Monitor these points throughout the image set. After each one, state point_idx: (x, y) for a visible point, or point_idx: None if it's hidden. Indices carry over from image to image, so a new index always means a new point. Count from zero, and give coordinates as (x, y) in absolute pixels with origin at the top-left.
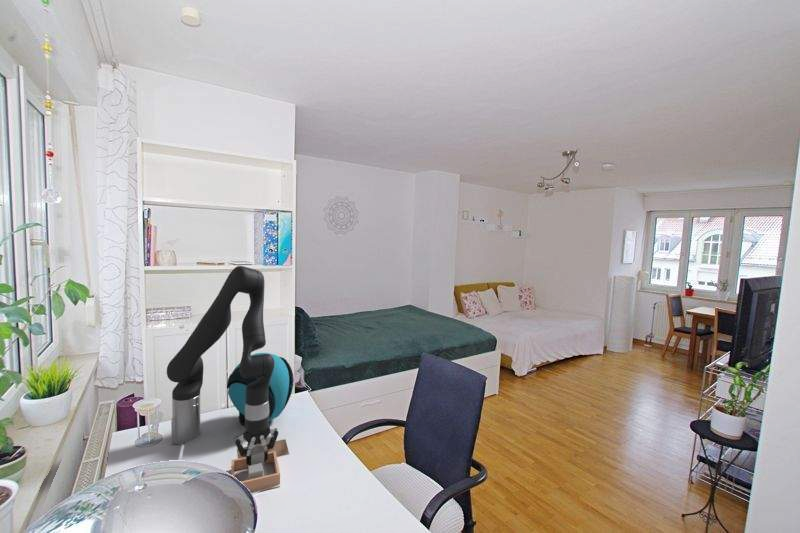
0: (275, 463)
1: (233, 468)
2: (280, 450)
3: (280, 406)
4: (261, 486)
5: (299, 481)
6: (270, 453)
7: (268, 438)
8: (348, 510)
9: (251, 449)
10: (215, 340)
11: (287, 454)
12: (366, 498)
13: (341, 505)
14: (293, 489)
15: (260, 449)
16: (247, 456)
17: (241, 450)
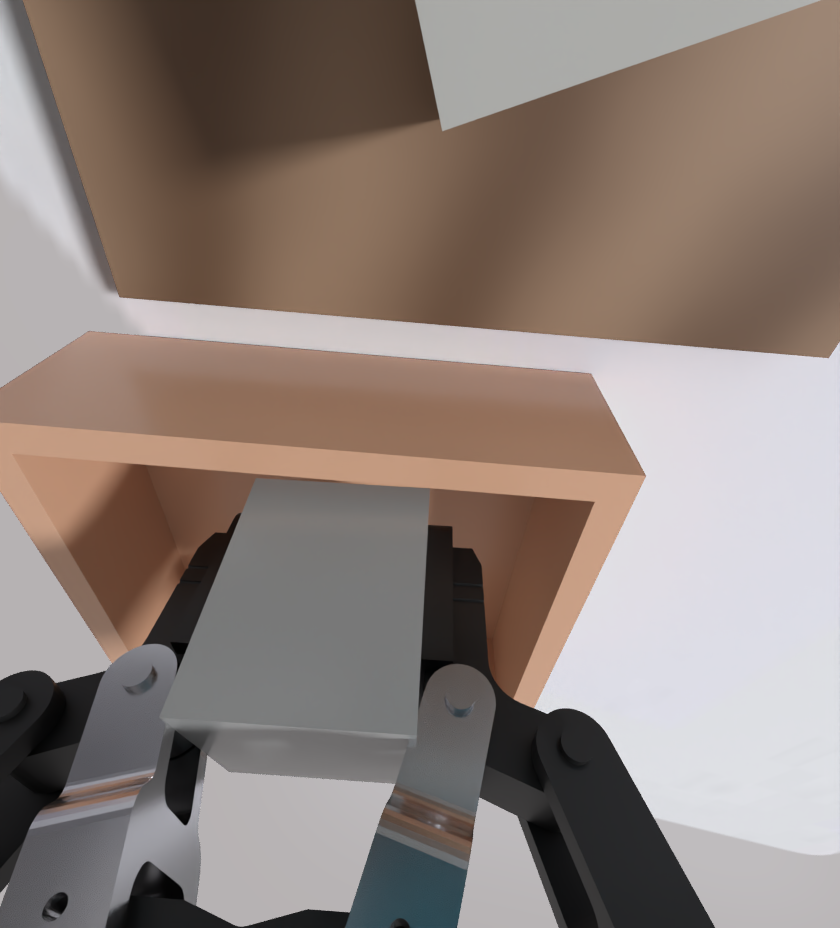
0: (531, 657)
1: (75, 573)
2: (797, 193)
3: None
4: None
5: (644, 638)
6: (551, 493)
7: (766, 18)
8: (710, 794)
9: (190, 849)
10: None
11: (802, 353)
12: (827, 788)
13: (708, 778)
14: (573, 668)
15: (360, 763)
16: None
17: (5, 848)
